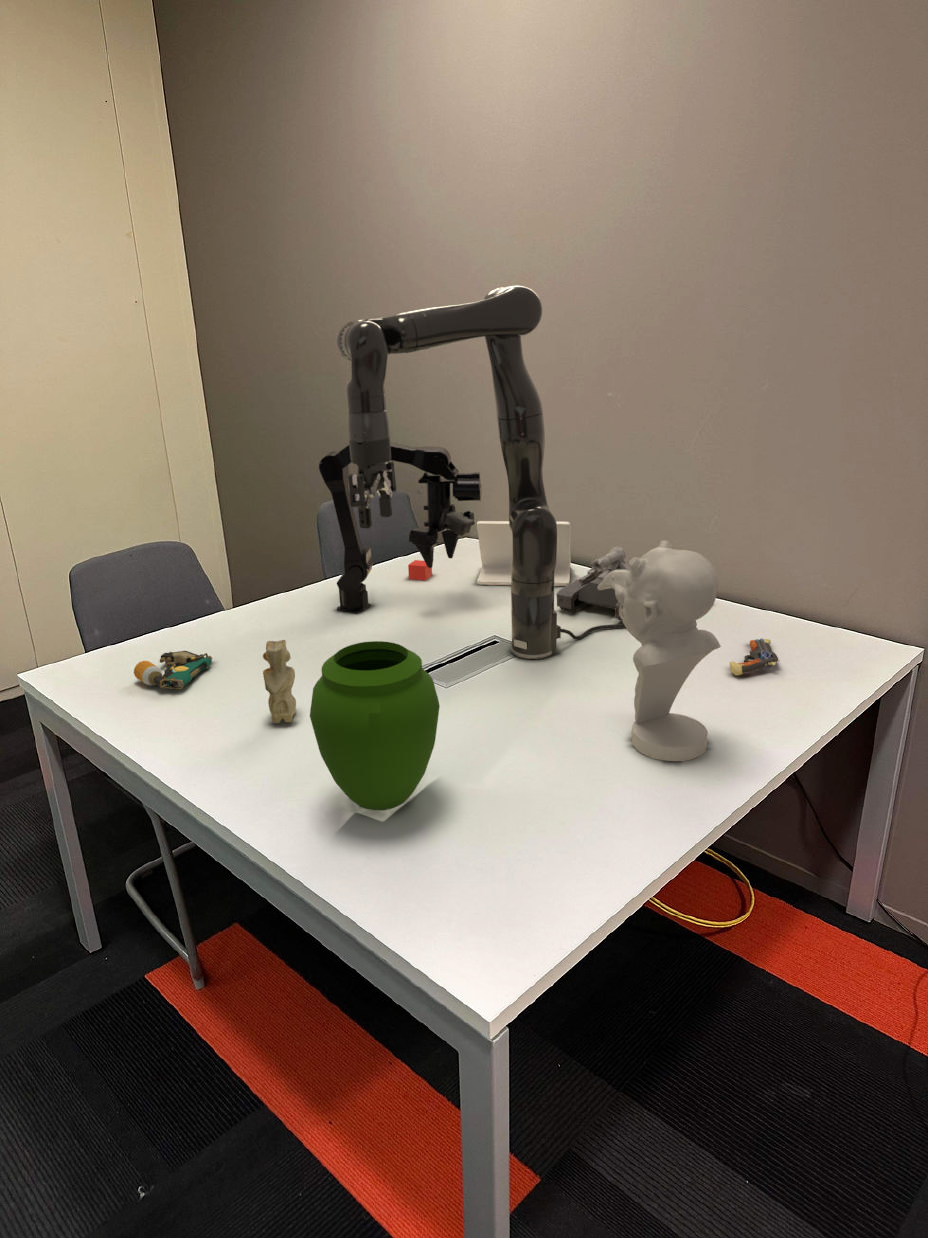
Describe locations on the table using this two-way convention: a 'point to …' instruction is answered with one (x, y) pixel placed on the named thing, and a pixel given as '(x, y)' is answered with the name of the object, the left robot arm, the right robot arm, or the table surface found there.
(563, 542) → the tablet stand
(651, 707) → the bust sculpture
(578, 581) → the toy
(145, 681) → the spray gun
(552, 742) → the table surface
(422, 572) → the brick
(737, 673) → the toy gun
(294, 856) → the table surface
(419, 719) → the vase
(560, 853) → the table surface
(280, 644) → the sculpture
